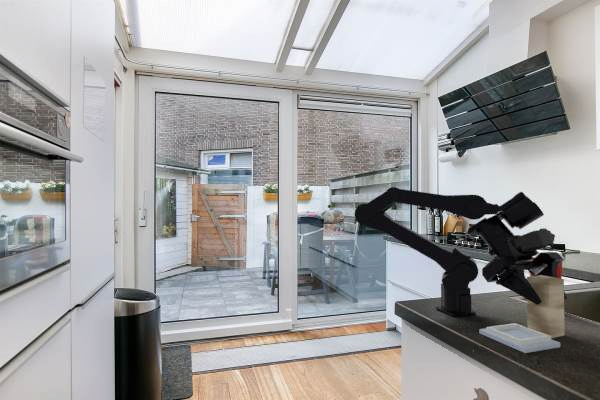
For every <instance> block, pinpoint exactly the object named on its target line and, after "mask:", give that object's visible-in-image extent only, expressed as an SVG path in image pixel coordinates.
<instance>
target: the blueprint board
mask: <svg viewBox="0 0 600 400" xmlns="http://www.w3.org/2000/svg"><path fill="white" fill-rule="evenodd" d="M478 331H479V333H478V334H480V335H483V336H485V337H487V338H489V339H492V340H494V341H496V342H499V343H500V344H502V345H505V346H507V347H510V348H513V349H514V350H517V351H519V352H521V353H524V354H528V353H533V352H535V353H536V352H541V351H544V350H551V349H557V348H558V349H559V348H561V342H559V341H557V340H554V339H553V338H551V336H550V335H547V334H544V333H541V332H539V331H536V330H533V329H530V328H527V327H526V326H524V325H521V324H519V323H516V322H513V323H508V324H507V323H505V324H499V325H491V326H486V327H484V328H479V329H478Z"/></svg>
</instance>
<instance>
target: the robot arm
mask: <svg viewBox="0 0 600 400" xmlns="http://www.w3.org/2000/svg"><path fill="white" fill-rule="evenodd" d="M396 204H403V205H410V206H417V207H423V208H428V209H434V210H441V211H444V212H448V213H451V214H454V215H456V216H460V217H462V218H466V219H468V220H469V219H470V220H474V221H475V220H479V219H481V218H483V217H484V216H486V215H493V216H490V217H488V218H486V217H484V218H483V219H481V220H479V221H478V222H476V223H473V224H472V223H469V224H468V229H467V232H466V233H467V234H468V235H469V237H470V238H472V239H473V238H476V237H477V236H480V238H481V239H482V240H483V242H484V243H486V244H485V245H487V247H488V248H489V249H490V250H489V251H488V254H489V255H490V256H493V258H492V259H491V260H490V261H489V262H487V264H485V265H484V267H482V269H481V272H482V273H481V274H482V277H483V279H484V280H485V281H486V282H487V283H495V284H496V285H499V286H502V287H503V288H506V289H508V290H509V291H511V292H513V293H515V294H517V295H519V296H521V297H522V298H525V299H526V301H527V300H529V301H531V302H533V303H534V304H536V305H539V304H540V303H542V301H541V299H540V298H539V296H538V294H537V293H536V292H535V290H534V289H533V287H532V286H531V285H530V283H529V282H528V280H527V277H526V275H525V271H527V272H530V273H529V275H530V274H532V275H534V276H538V275H543V276H548V277H554V278H558V275H557V267H558V266H559V265H560V263H561V262H562V263H563V262H564V260H565V258H564V259H563V258H562V257H561V256H560V255H559V254H558V253H557V252H542V253H540V254H539V255H538V256H537V257H536V258H534V259H533V258H532V257H533V256H535V255H536V254H537V253H538V251H537V250H542V249H544V248H547V247H552V246H554V245H555V242H554V241H555V238H556V235H555V234H554V233H552V232H551V230H549V229H547V228H544V227H543V228H539V230H538V229H537V230H533V231H529V232H527V233H525V234H522V235H519V234H517V235H516V234H514V233H513V232H512V231H511V230H510V229H509V227H510V228H511V229H515V228H517V229H519V230H521V229H523V228H525V227H526V226H528V225H530V224H531V223H533V222H535V221H537V220H538V219H540V218H542V217H543V216H544V215H545V214H544V212H543V211H542V209H541V208H540V206H538V204H537V203H536V202H535V201H532V200H531V198H530V197H529V196H527V195H526V194H525V193H524V192H523V191H519V192H518V193H516V194H514V196H513V197H512V198H510V199H508V200H507V201H506V202H503V204H501V205H498V204H497V203H494V204H493V203H490V202H487V200H486V199H485V198H484V197H482V196H480V195H477V194H454V195H453V194H451V195H450V194H449V195H448V194H447V195H445V194H437V193H431V192H424V191H417V190H411V189H404V188H399V187H395V186H394V187H393V186H392V187H389V188H388V189H387V190H386V191H384V192H383V193H381V194H380V195H378V196H376V197H375V198H374V199H372V200H370V201H369V202H368V203H365V202H363V203H360V204H358V205H357V207H356V208H355V210H354V218H355V219H354V220H355V221H356V223H358V224H359V225H362V226H363V227H366V228H369V229H372V230H375V231H378V232H382V233H385V234H387V235H388V236H391V237H392V238H394V239H395V240H397V241H399V242H401V243H402V244H405V246H407V247H410V248H411V249H413V250H414V251H416V252H418V253H420V254H421V255H424V256H425V257H427V258H428V259H431V260H432V261H434V262H435V263H436V264H437V265H438V266H439V267H440V268H442V269H443V270H444V272H443V273H442V276H441V282H442V283H440V295H441V296H440V299H441V300H440V305H439V306H438V305H437V306H435V309H436V310H437V311H441V312H442V313H445V314H448V315H449V316H452V317H459V316H468V315H469V316H470V315H476V314H477V311H475V310H473V309H472V295H471V288H470V287H469V285H470V283H471V282H473V281H475V280H476V279H477V277H478V275H479V268H478V265H477V262H476V260H475V259H474V258H473V257H472V255H471V253H470V252H466V251H464V250H462V249H461V248H459V247H458V246H457V245H455V244H454V245H453V248H452V249H449V248H447V247H444V246H442V245H440V244H438V243H436V242H434V241H433V240H430V239H429V238H427V237H425V236H423V235H422V234H421V233H418V232H417V231H414V230H413V229H411V228H409V227H407V226H406V225H404V224H402V223H400V222H398V221H396V220H395V219H394V218H392V217H391V216H390V215H389V214H388V213H387V211H388V210H389V209H391V208H392V207H393V206H395V205H396ZM503 221H504V222H506V224H507V225H508V226H509V227H508V226H507V225H506V224H505V223H504V222H503ZM532 259H533V260H532ZM567 298H568V296H567V294H566V292H565V291H564V301H565V300H567Z"/></svg>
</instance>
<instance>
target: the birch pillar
mask: <svg viewBox="0 0 600 400" xmlns="http://www.w3.org/2000/svg"><path fill="white" fill-rule="evenodd" d="M526 279H527V280H528V282H529V283H530V285H531V286H532V287H533V289H534V290H535V292H536V293H537V294H538V296H539V298H540V299H541V301H542V303H540V304H539V305H536V304H534V303H533V302H531V301H529V300H527V299H526V302H527V303H526V305H527V306H526V310H527V311H526V312H527V314H526V315H527V319H526V320H527V328H530V329H533V330H536V331H539V332H541V333H544V334H547V335H550V336H551V339H555V338H558V337H563V336H565V300H564V292H565V279H563V278H561V279H560V278H554V277H548V276H543V275H538V276H530V275H529V276H526Z"/></svg>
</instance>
